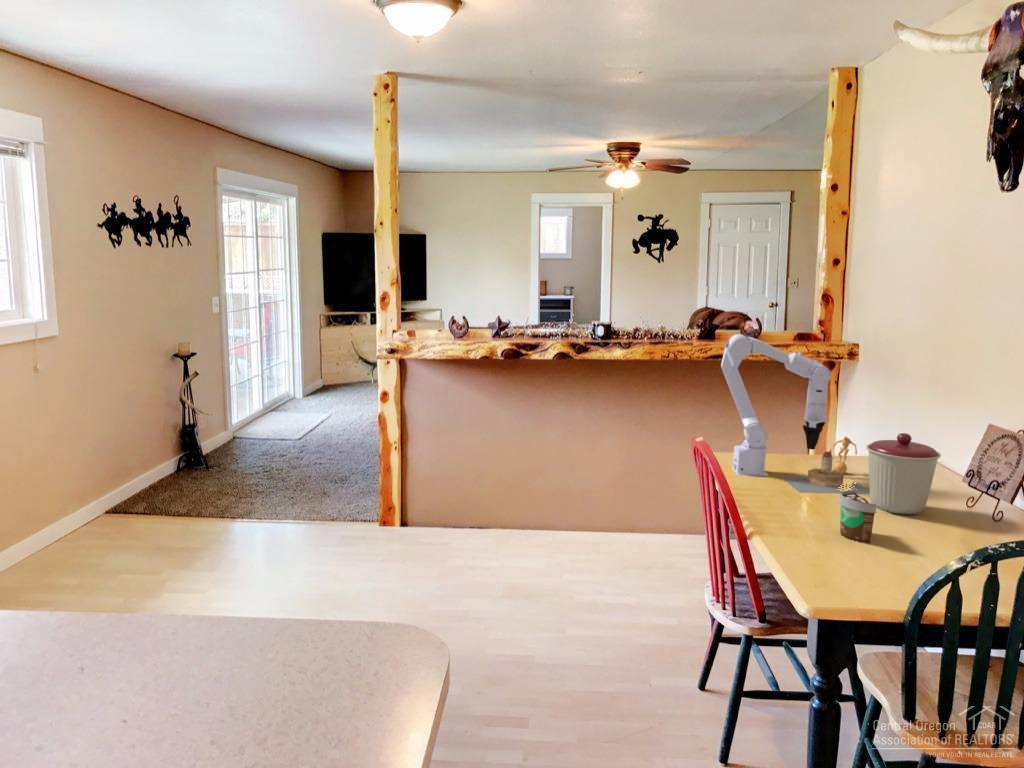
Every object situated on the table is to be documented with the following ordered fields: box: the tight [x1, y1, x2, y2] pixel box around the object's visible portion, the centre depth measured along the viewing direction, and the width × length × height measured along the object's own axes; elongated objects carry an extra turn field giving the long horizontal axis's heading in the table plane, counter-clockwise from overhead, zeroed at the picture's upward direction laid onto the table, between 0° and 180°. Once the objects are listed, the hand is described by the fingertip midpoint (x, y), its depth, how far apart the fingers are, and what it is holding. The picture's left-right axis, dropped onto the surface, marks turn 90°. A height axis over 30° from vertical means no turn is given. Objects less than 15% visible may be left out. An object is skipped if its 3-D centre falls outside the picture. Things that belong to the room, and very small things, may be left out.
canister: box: [865, 432, 942, 515], centre depth 214 cm, size 18×18×21 cm
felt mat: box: [779, 476, 870, 495], centre depth 236 cm, size 22×17×1 cm
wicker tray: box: [807, 468, 845, 487], centre depth 238 cm, size 9×9×3 cm
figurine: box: [830, 436, 858, 475], centre depth 250 cm, size 8×6×12 cm
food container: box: [837, 490, 877, 544], centre depth 191 cm, size 12×6×10 cm, turn 178°
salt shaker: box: [820, 451, 834, 475], centre depth 238 cm, size 3×3×10 cm
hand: (812, 446), depth 244 cm, fingers open, 7 cm apart
